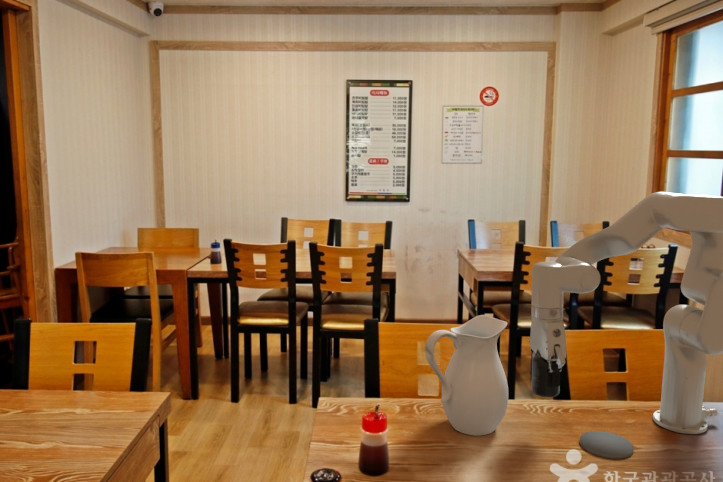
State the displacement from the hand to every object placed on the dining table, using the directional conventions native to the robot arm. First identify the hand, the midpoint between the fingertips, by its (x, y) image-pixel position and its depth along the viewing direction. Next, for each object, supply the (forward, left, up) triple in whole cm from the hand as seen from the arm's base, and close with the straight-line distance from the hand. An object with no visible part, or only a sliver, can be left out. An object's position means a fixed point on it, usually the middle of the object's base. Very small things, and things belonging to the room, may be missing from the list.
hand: (545, 380), depth 147 cm
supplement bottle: (0, 0, -4) cm, 4 cm away
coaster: (-11, +10, -14) cm, 20 cm away
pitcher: (+20, -5, -14) cm, 25 cm away
